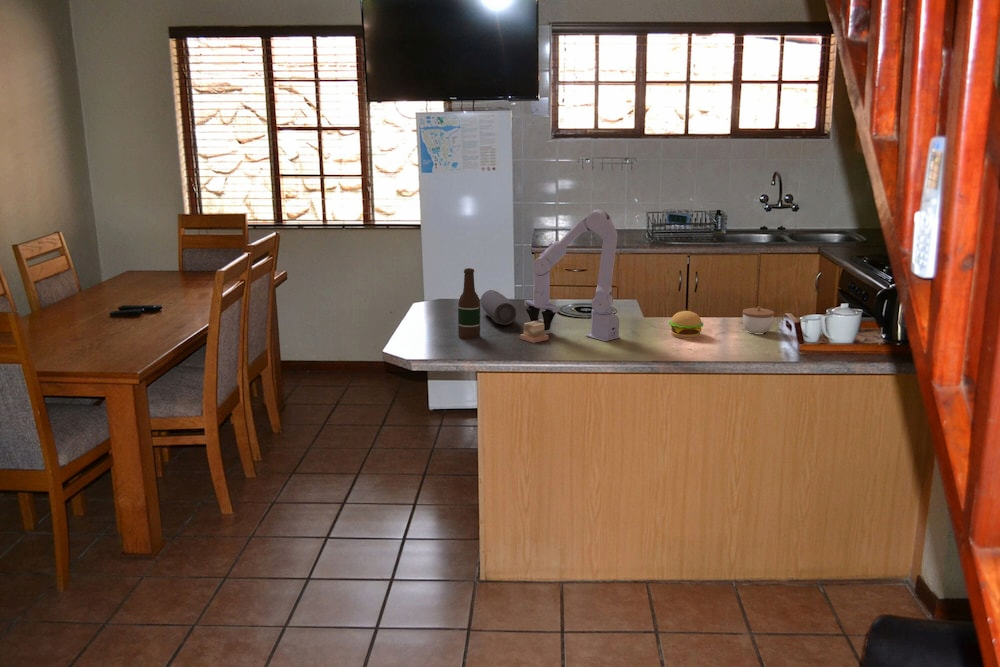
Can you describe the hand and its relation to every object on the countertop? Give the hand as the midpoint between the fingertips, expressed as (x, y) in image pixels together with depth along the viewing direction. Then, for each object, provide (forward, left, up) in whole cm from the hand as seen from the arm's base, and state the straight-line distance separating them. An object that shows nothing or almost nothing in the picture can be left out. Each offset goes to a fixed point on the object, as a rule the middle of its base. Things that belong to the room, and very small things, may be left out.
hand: (540, 328), depth 317 cm
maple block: (-5, +8, 0) cm, 9 cm away
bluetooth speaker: (+23, 0, -2) cm, 23 cm away
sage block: (0, 0, -2) cm, 2 cm away
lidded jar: (-50, -59, -2) cm, 77 cm away
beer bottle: (+12, +23, -2) cm, 26 cm away
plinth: (-5, +8, -1) cm, 10 cm away
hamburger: (-36, -36, -2) cm, 51 cm away
